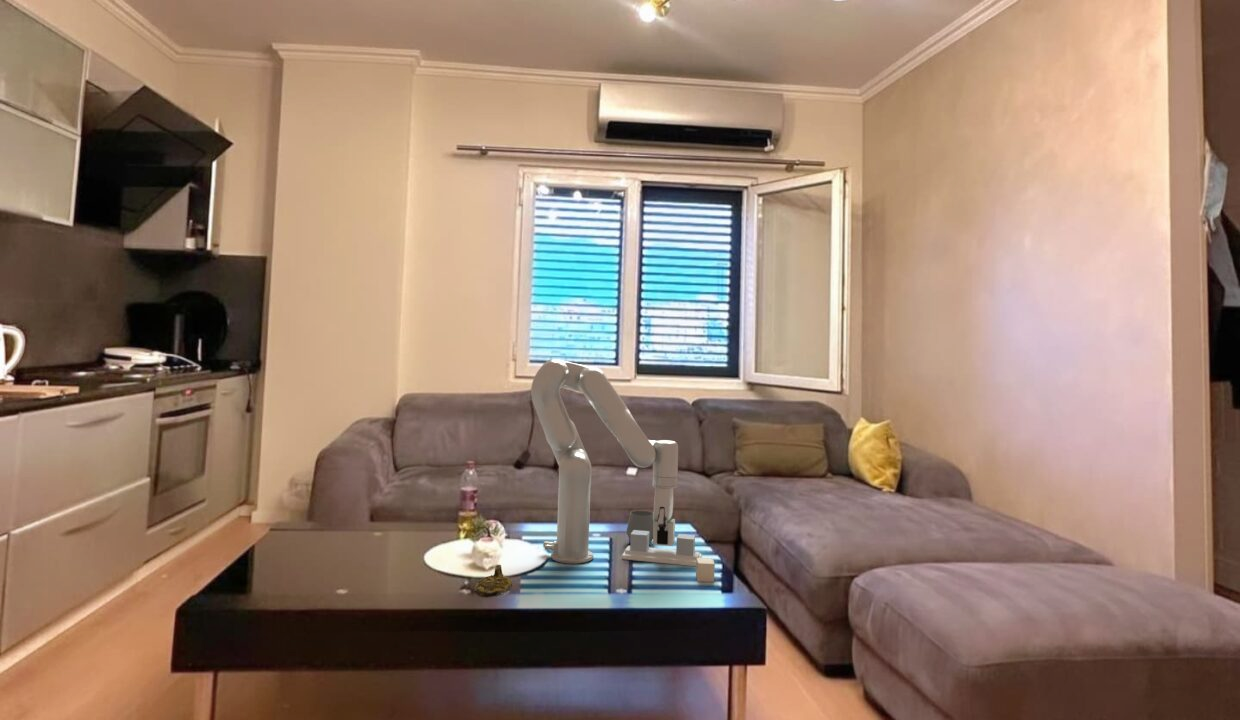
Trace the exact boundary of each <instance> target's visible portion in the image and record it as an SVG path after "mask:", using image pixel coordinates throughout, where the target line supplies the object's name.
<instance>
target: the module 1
mask: <svg viewBox="0 0 1240 720" xmlns="http://www.w3.org/2000/svg"><path fill="white" fill-rule="evenodd" d="M664 520H666V518H664ZM664 524H665V522H664ZM657 530H658V518H657V519H656V520H655V521H653V540H652V545H657V546H670V547H674V545H675V536H676V535H675V533H676V531H675V530H676V519H675V518H670V520H669V521H668V522H667V531H668V544H667V545H665V544H657Z"/></svg>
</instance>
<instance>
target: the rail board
mask: <svg viewBox="0 0 1240 720" xmlns="http://www.w3.org/2000/svg"><path fill="white" fill-rule="evenodd" d="M649 533H650V531H640V530H633V531H632V533H631V537H630V540H629V542H630V543H629V544H630V545H627V547H626V548H625V549H624V552H623V553H622V554H621V559H622V560H627V561H628V560H629V561H639V562H650V563H660V564H671V565H681V566H682V565H683V566H693V567H696V558H702V555H703V554H702V553H700V551H695V550H696V549H695V548H696V547H695V546H696V535H695V534H686V533H678V534H677V536H676V548H675V549H669V548H658V547H650V544H649Z"/></svg>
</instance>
